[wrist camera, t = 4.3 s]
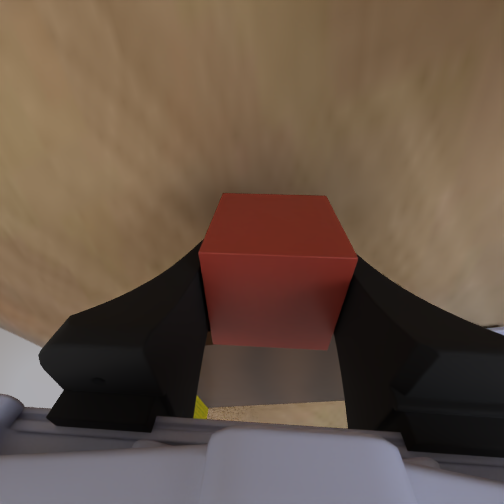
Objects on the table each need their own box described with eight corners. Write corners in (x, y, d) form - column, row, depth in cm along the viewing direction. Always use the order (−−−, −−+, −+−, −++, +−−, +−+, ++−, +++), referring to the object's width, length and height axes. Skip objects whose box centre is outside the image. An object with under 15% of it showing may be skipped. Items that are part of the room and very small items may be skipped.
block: (326, 195, 11) (359, 258, 7) (310, 274, 14) (327, 351, 10) (222, 192, 11) (197, 252, 7) (228, 271, 14) (212, 344, 10)
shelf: (339, 280, 18) (357, 329, 15) (344, 351, 24) (358, 400, 20) (177, 304, 21) (158, 350, 17) (215, 363, 27) (207, 408, 23)
